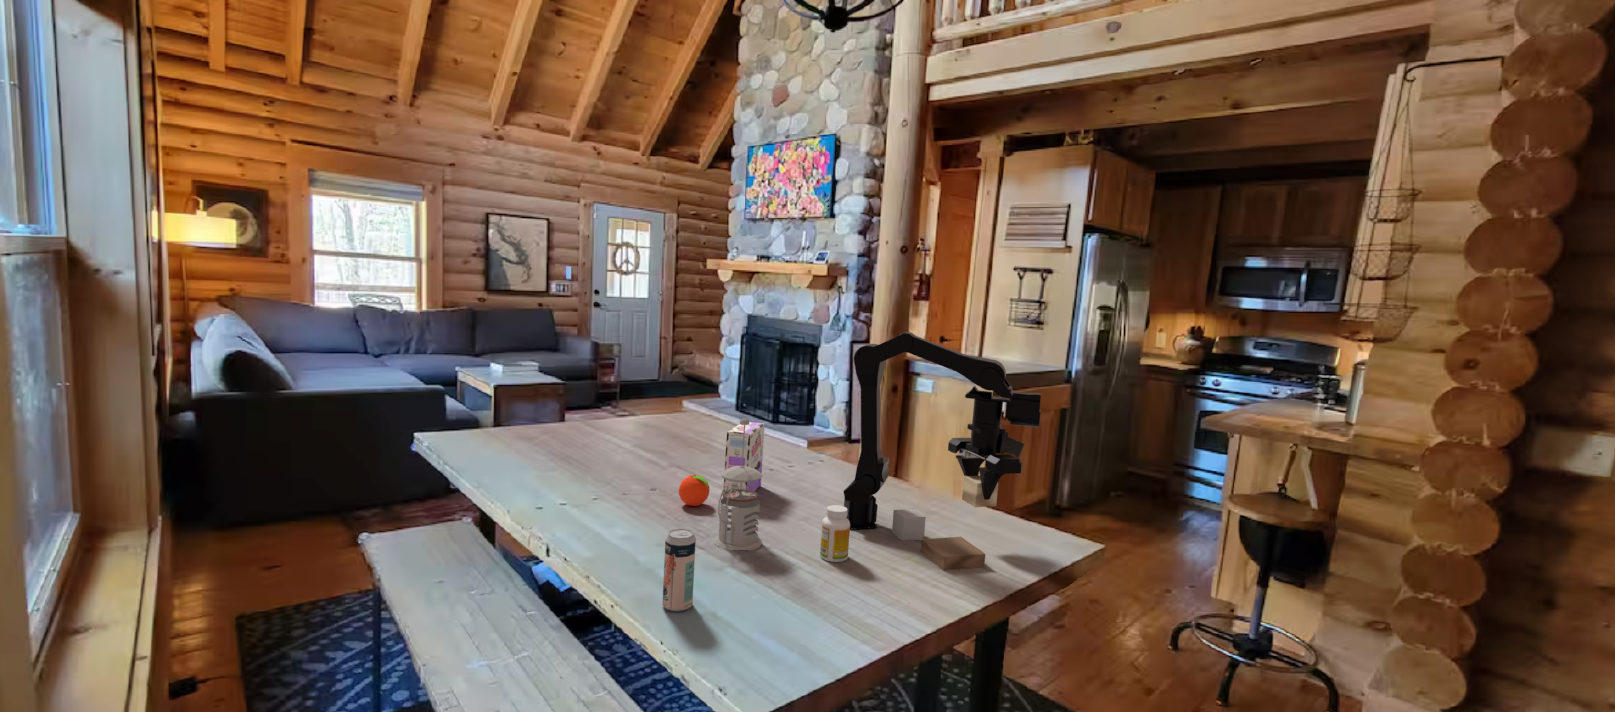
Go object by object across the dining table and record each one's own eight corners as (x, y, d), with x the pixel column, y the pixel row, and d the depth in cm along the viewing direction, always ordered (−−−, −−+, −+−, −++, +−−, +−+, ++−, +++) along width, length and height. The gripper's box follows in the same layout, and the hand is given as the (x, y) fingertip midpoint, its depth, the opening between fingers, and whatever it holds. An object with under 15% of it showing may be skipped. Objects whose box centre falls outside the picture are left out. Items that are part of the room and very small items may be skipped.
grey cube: (902, 541, 145) (904, 517, 144) (891, 532, 150) (893, 509, 149) (923, 539, 146) (925, 516, 146) (912, 531, 151) (914, 508, 151)
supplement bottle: (850, 554, 136) (854, 506, 134) (843, 564, 130) (847, 514, 129) (824, 549, 137) (828, 501, 136) (816, 559, 132) (819, 509, 131)
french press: (771, 539, 141) (778, 417, 138) (742, 558, 130) (749, 427, 128) (729, 529, 145) (736, 411, 142) (698, 546, 134) (704, 419, 132)
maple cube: (975, 507, 141) (977, 483, 141) (961, 499, 146) (964, 476, 145) (996, 506, 143) (998, 482, 142) (982, 498, 148) (984, 475, 147)
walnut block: (942, 572, 131) (944, 557, 131) (920, 553, 140) (921, 539, 139) (984, 568, 134) (985, 553, 134) (959, 550, 143) (960, 536, 142)
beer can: (664, 598, 112) (667, 527, 111) (693, 599, 113) (697, 528, 111) (660, 613, 108) (663, 538, 106) (691, 613, 108) (695, 539, 107)
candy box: (746, 502, 162) (750, 433, 161) (722, 499, 164) (725, 430, 162) (761, 486, 176) (765, 422, 174) (739, 483, 177) (743, 419, 175)
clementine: (718, 506, 159) (720, 475, 158) (698, 513, 153) (699, 482, 152) (692, 498, 163) (693, 468, 162) (671, 505, 157) (672, 474, 156)
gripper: (1048, 431, 136) (1040, 508, 138) (994, 412, 154) (987, 480, 156) (1000, 432, 133) (992, 511, 134) (949, 412, 150) (943, 482, 152)
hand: (979, 495), depth 144 cm, fingers closed on maple cube, 5 cm apart
